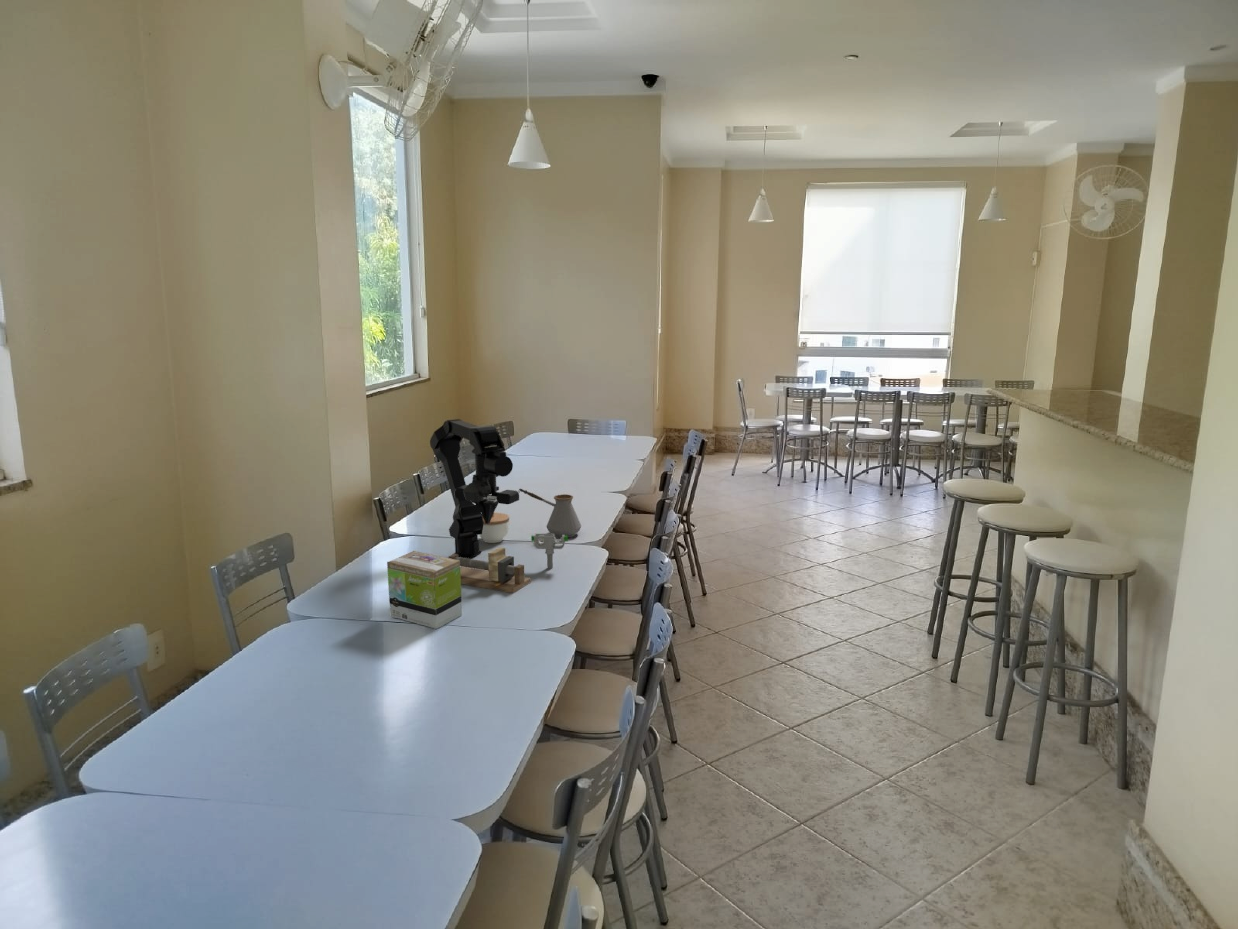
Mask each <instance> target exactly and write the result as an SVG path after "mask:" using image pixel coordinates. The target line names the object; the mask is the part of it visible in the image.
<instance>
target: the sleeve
mask: <svg viewBox="0 0 1238 929" xmlns="http://www.w3.org/2000/svg"><path fill="white" fill-rule="evenodd" d="M508 556H509V555H506V547H502V546H498V547H497V548H495V549H493V550H490V551H489V552H487V558H488V560H487V562H488V564H489V580H494V581H498V562H499V561H500V560H502V559H504V558H506V557H508Z"/></svg>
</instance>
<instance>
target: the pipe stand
mask: <svg viewBox="0 0 1238 929" xmlns="http://www.w3.org/2000/svg"><path fill="white" fill-rule="evenodd" d="M452 554H453V555H452ZM452 554H451V555H449V556H448V558H450V559H455V560H460V575H461V585H466V586H471V587H477V588H483V589H487V590H488V589H489V590H495V591H499V592H505V593H511V594H515V593H516V592H518V591H520V590H521V589H522V588H524V587H527V585H529V584H531V581H532V578H531V577H526V576H525V565H524V564H518V565H514V566H511V565H506V566H505V574H511V575H514V577H512V578H510V579H509V580H507V581H505V582H504V583H502V582H498V581H494V580H489V564H488V561H486V560H479V559H473V558H462V557H459V555H458V554H454V553H452Z"/></svg>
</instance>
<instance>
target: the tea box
mask: <svg viewBox="0 0 1238 929" xmlns="http://www.w3.org/2000/svg"><path fill="white" fill-rule="evenodd" d="M386 566H387V580H388V581H387V582H388V583H387V584H388V597H389V598H388V601H389V616H390V617H391V618H395V619H400V620H404V621H406V622H410V623H415V624H418V625H420V626H421V625H422V626H424V627H427V628H432V629H434V630H437V629H440V628H441V627H443V626H445V625H446V624H448V623H450V622H452V621H454V620H455V619H457V618H459V617H461V616H462V615H463V610H462V608H463V607H462V584H461V575H460V567H461V566H460V560H455V559H450V558H449V557H444V556H440V555H435V554H432V553H427V552H422V551H421V552H420V551H416V550H412V551H410V552H407V553H406V554H404V555H401V556H399V557H396V558H395V559H392V560H389V561H387V562H386Z"/></svg>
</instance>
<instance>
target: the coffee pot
mask: <svg viewBox="0 0 1238 929" xmlns="http://www.w3.org/2000/svg"><path fill="white" fill-rule="evenodd" d="M517 492H518V493H519V494H520V492H521V493H522V492H523V493H524V494H526V495H528V496H529V497H531V498H534V499H536V500H539V501H541V502H543V503H545V504H547V505H549V506H552V507H553V509H552V511H551V514H550V517H549V518H548V521H547V524H546V528H547V531H548V532H549V534H554V536H555V538H560V539H561V538H562V535H565V536H567V538H572V537H574V536H576V534H578V533H579V531H580V530H581V528H582V524H581V522H580V520H579V517H578V514H577V513H576V511H575V508H574V506H573V504H572V501H573V499H574V496H573V495H571V494H558V495H554V496H553V499H554V501H555V503H554V502H552V501H549V500H547V499H545V498H543V497H541V496H539V495H537V494H535V493H533V492H529V491H527V489H526V490H525V489H523V488H519V489H518V490H517Z"/></svg>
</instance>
